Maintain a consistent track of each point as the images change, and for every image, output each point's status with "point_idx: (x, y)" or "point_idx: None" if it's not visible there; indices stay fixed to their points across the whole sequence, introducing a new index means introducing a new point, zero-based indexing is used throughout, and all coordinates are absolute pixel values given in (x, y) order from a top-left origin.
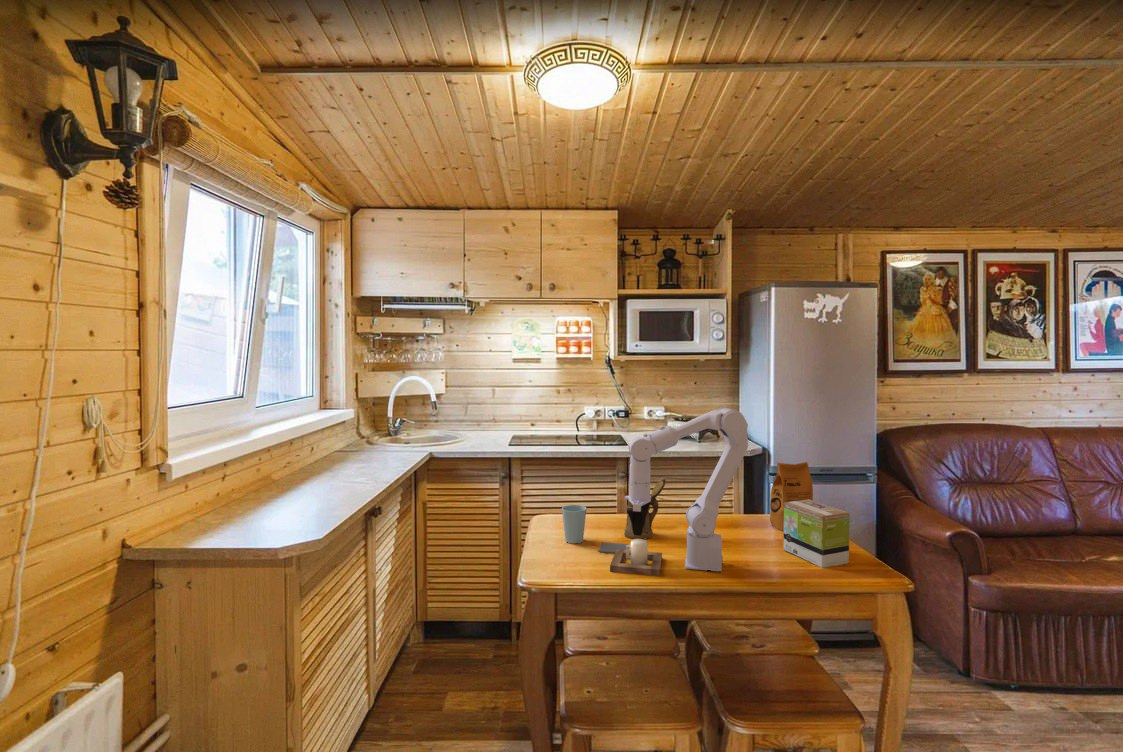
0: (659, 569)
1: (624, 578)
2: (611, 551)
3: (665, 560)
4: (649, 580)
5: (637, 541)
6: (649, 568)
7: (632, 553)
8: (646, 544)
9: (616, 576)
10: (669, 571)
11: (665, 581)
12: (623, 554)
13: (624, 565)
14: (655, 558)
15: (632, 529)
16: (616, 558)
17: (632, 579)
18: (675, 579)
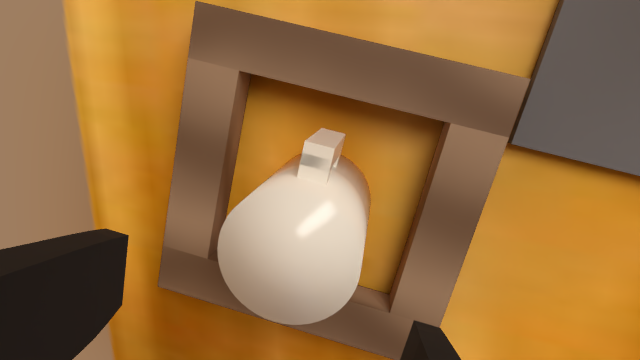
0: (172, 288)
1: (125, 87)
2: (561, 41)
3: None
4: (116, 212)
5: (293, 247)
6: (171, 240)
7: (273, 175)
8: (250, 303)
9: (146, 43)
10: (234, 331)
11: None
12: (449, 123)
13: (203, 101)
14: None
15: (48, 239)
16: (327, 59)
17: (117, 129)
18: (142, 330)
